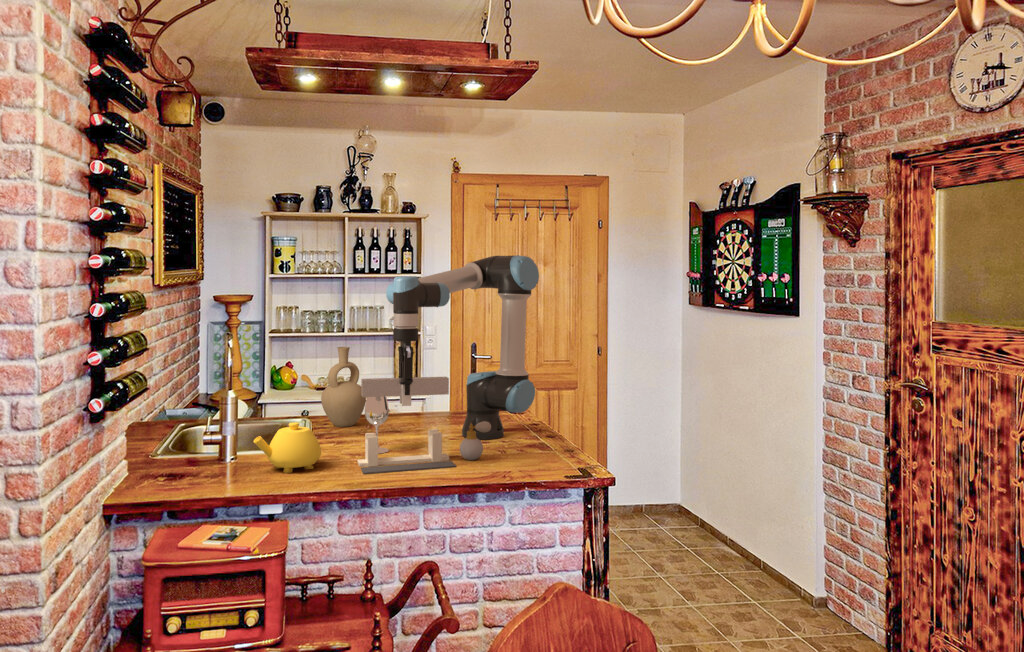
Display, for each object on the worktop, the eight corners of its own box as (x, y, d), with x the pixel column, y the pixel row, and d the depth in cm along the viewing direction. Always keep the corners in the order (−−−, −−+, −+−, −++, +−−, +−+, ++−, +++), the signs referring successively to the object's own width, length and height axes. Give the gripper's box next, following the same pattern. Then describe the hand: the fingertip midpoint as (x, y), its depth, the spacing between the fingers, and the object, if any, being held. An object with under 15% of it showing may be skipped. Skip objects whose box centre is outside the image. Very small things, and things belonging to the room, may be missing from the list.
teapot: (262, 479, 224) (261, 432, 223) (246, 468, 237) (245, 423, 236) (329, 469, 236) (328, 424, 235) (309, 459, 248) (309, 416, 247)
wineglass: (384, 454, 254) (383, 393, 253) (361, 453, 256) (360, 392, 254) (392, 449, 262) (392, 389, 260) (370, 447, 264) (369, 388, 262)
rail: (446, 392, 243) (446, 376, 243) (448, 394, 240) (448, 378, 240) (361, 395, 236) (361, 378, 236) (362, 397, 233) (362, 380, 232)
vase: (345, 419, 311) (344, 344, 309) (375, 424, 302) (374, 347, 299) (312, 426, 298) (311, 347, 296) (342, 432, 288) (341, 350, 286)
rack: (445, 456, 253) (445, 428, 252) (449, 460, 247) (449, 432, 246) (357, 462, 244) (357, 433, 244) (359, 467, 238) (359, 438, 238)
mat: (451, 462, 245) (451, 460, 245) (456, 467, 239) (456, 465, 239) (360, 469, 236) (360, 467, 236) (363, 474, 230) (363, 472, 230)
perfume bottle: (454, 458, 250) (454, 421, 249) (480, 454, 256) (480, 417, 255) (468, 463, 244) (468, 425, 243) (493, 459, 250) (493, 421, 249)
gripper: (389, 325, 243) (389, 400, 245) (397, 329, 228) (397, 409, 229) (413, 325, 246) (413, 399, 247) (423, 329, 230) (422, 408, 231)
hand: (405, 404), depth 238 cm, fingers closed on rail, 4 cm apart
